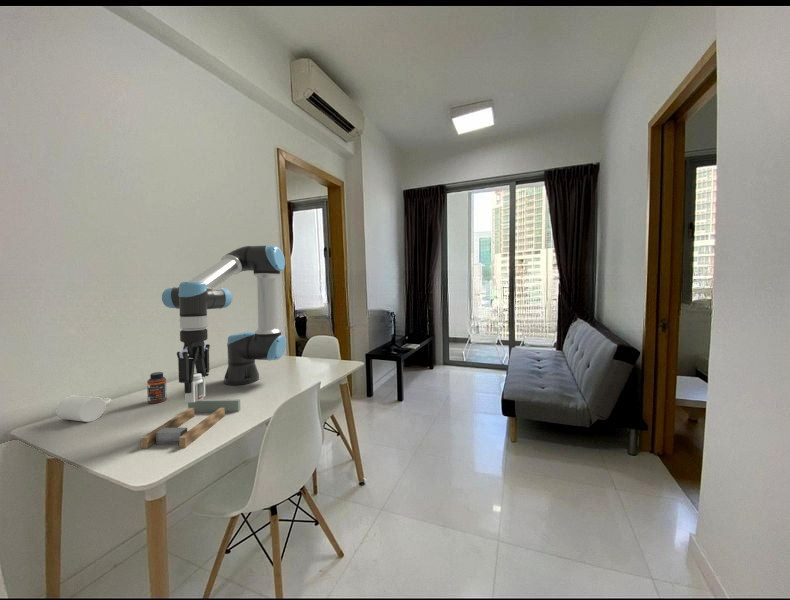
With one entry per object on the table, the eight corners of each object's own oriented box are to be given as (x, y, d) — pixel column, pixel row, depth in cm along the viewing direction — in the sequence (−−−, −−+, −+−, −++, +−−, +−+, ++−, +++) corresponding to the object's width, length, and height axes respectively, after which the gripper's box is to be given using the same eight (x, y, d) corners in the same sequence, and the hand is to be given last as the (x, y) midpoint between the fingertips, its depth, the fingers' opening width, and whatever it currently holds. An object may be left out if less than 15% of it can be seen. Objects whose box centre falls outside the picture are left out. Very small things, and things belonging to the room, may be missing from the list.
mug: (79, 426, 99) (78, 402, 99) (56, 423, 101) (55, 399, 101) (119, 411, 111) (118, 389, 110) (98, 409, 113) (97, 387, 112)
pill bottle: (201, 396, 103) (200, 371, 103) (205, 399, 100) (205, 374, 100) (184, 399, 100) (184, 374, 100) (188, 403, 97) (188, 377, 96)
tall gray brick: (163, 439, 90) (163, 427, 90) (187, 439, 91) (187, 427, 91) (156, 444, 87) (155, 432, 87) (180, 444, 88) (180, 432, 88)
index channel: (189, 416, 106) (189, 407, 106) (224, 415, 107) (224, 407, 107) (141, 448, 85) (141, 438, 85) (185, 447, 86) (185, 437, 86)
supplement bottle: (148, 405, 116) (147, 376, 116) (147, 400, 121) (146, 372, 120) (167, 401, 120) (166, 373, 119) (166, 397, 124) (165, 370, 124)
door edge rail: (191, 410, 112) (190, 399, 111) (240, 409, 112) (240, 399, 112) (188, 411, 110) (188, 401, 110) (238, 411, 111) (238, 400, 110)
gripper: (199, 325, 108) (200, 389, 109) (162, 332, 90) (164, 409, 91) (220, 325, 108) (221, 389, 109) (187, 332, 90) (189, 409, 91)
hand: (195, 398), depth 100 cm, fingers closed on pill bottle, 5 cm apart
